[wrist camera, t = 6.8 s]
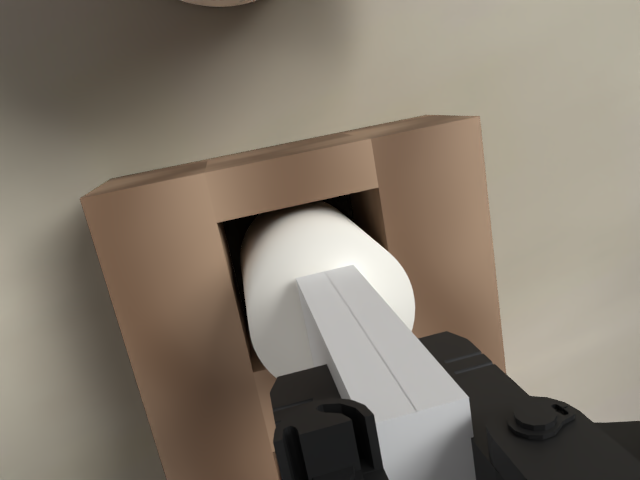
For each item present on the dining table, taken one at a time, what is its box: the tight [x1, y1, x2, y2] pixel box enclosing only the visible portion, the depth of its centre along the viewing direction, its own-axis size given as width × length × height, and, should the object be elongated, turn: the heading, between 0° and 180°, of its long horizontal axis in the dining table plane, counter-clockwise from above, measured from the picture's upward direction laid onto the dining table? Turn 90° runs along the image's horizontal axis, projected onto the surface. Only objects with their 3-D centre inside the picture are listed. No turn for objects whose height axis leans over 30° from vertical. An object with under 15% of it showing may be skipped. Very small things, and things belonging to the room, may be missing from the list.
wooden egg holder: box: [80, 115, 506, 480], centre depth 20 cm, size 12×16×4 cm
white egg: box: [240, 200, 415, 378], centre depth 17 cm, size 4×4×6 cm
